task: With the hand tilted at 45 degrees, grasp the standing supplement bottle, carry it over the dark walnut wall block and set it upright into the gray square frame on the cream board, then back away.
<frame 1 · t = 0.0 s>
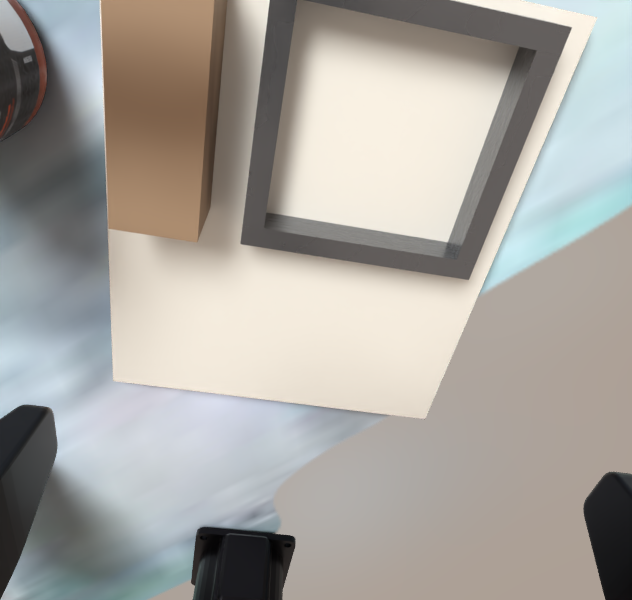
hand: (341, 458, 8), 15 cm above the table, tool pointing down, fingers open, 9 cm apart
blueprint board: (307, 224, 22), on the table
gray square frame: (379, 127, 20), resting on blueprint board
walnut wall block: (181, 90, 19), resting on blueprint board
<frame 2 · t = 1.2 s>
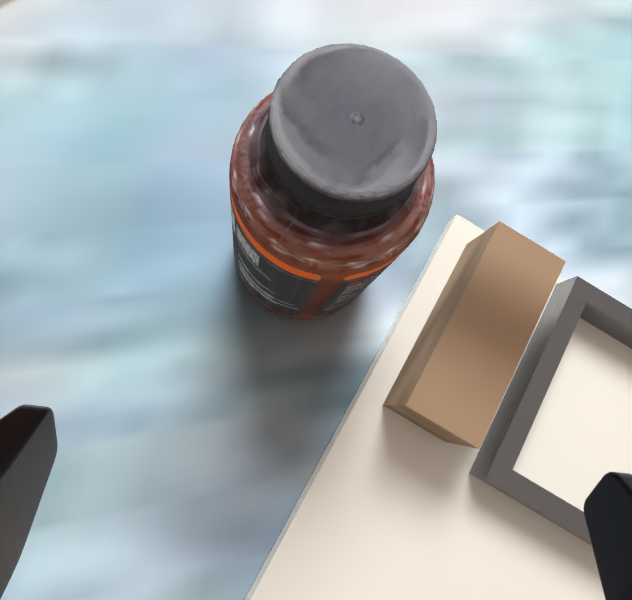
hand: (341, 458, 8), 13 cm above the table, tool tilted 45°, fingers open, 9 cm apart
supplement bottle: (301, 255, 23), on the table
blueprint board: (511, 498, 22), on the table
gray square frame: (590, 427, 23), resting on blueprint board
walnut wall block: (447, 341, 23), resting on blueprint board
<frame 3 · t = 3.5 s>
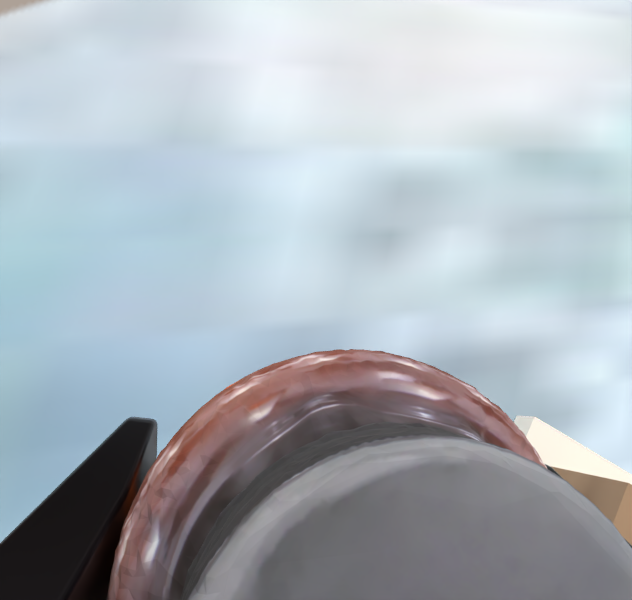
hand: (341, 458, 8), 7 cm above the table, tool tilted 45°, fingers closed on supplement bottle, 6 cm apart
supplement bottle: (291, 483, 15), on the table, touching gripper
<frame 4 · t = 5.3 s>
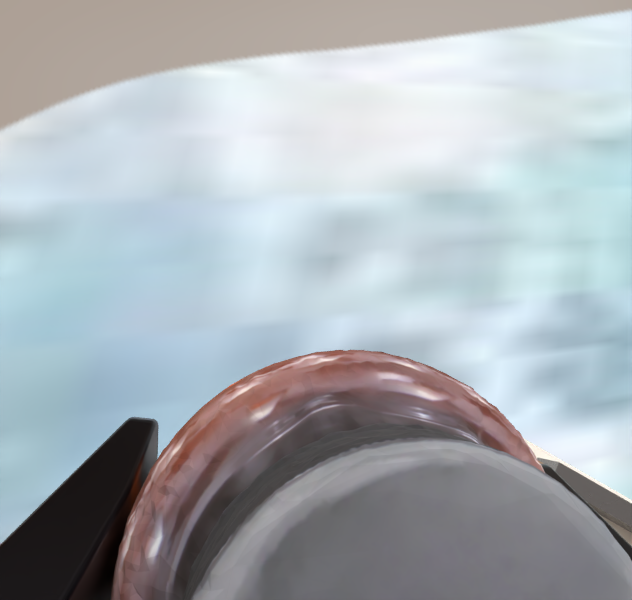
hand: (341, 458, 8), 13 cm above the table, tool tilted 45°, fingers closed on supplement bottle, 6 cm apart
supplement bottle: (290, 478, 15), point 6 cm above the table, touching gripper
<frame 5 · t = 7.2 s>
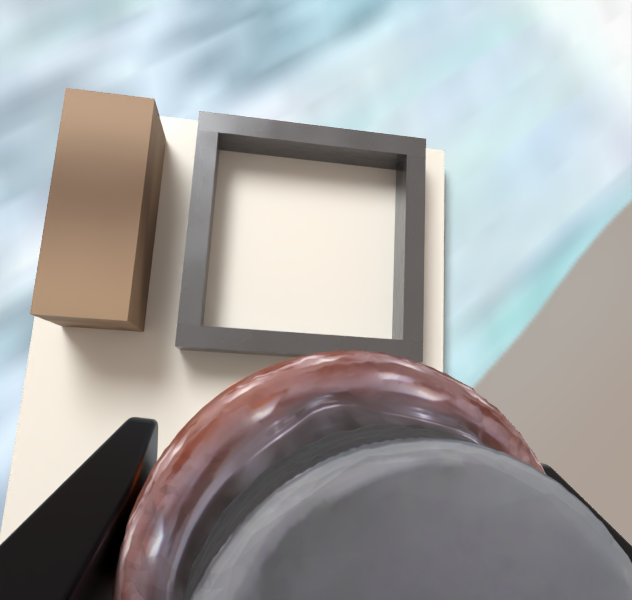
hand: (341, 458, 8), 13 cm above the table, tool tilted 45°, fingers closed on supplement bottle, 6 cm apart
supplement bottle: (291, 478, 15), point 6 cm above the table, touching gripper
blueprint board: (247, 353, 21), on the table
gray square frame: (302, 252, 22), resting on blueprint board
walnut wall block: (121, 236, 21), resting on blueprint board
when the fingers open (9 cm above the table, at t = 10.0 s): supplement bottle stays where it is, resting on blueprint board.
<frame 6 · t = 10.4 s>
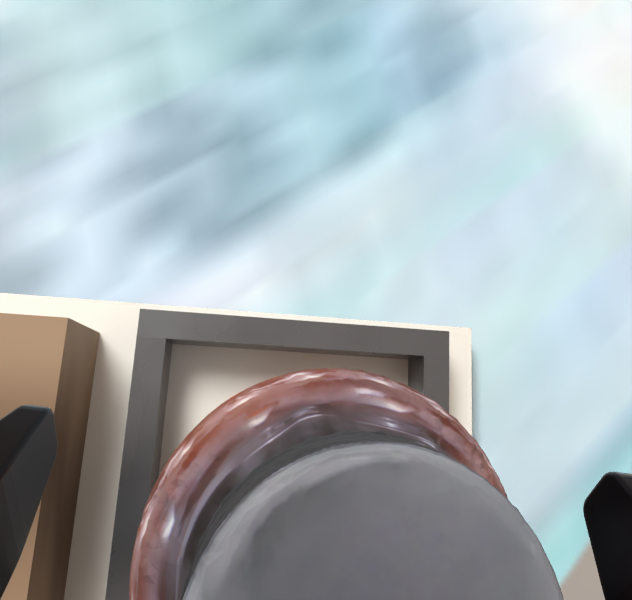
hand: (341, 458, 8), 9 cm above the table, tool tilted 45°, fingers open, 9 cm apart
supplement bottle: (286, 481, 16), point 1 cm above the table, touching blueprint board
gray square frame: (283, 471, 17), resting on blueprint board
walnut wall block: (39, 462, 16), resting on blueprint board
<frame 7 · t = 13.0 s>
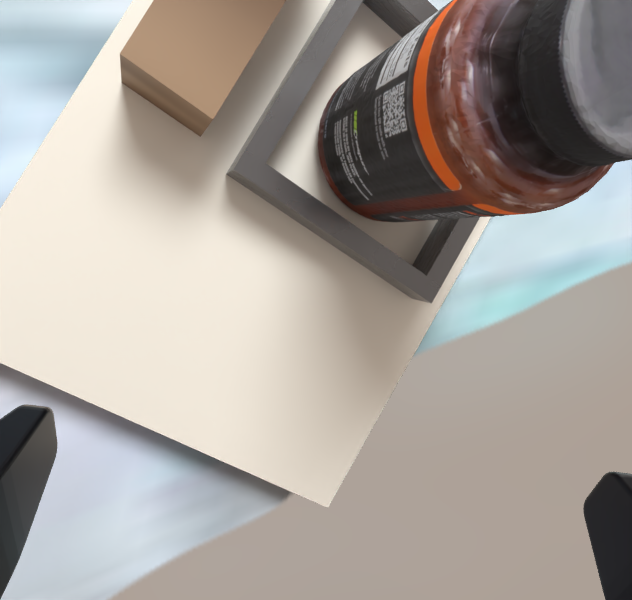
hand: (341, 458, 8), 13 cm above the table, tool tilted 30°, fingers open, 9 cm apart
supplement bottle: (380, 148, 21), point 1 cm above the table, touching blueprint board
blueprint board: (279, 212, 21), on the table
gray square frame: (373, 146, 22), resting on blueprint board
walnut wall block: (217, 24, 19), resting on blueprint board
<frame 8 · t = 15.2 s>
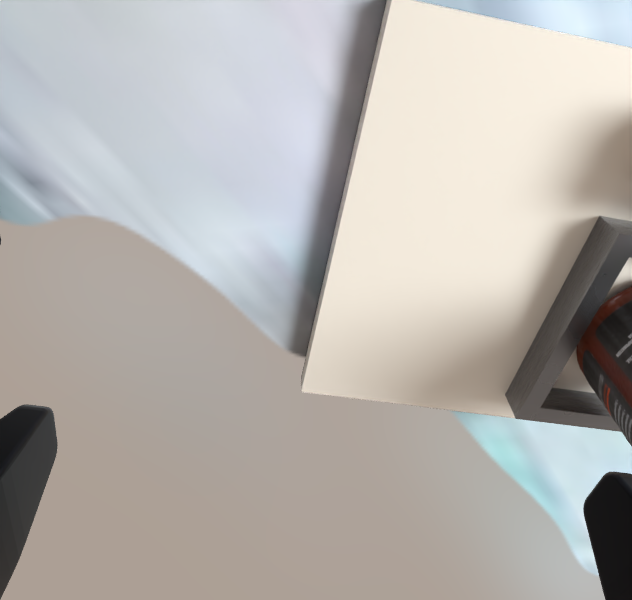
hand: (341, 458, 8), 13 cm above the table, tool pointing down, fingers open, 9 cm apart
blueprint board: (560, 262, 21), on the table
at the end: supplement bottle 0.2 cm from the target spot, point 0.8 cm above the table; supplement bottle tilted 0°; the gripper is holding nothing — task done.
